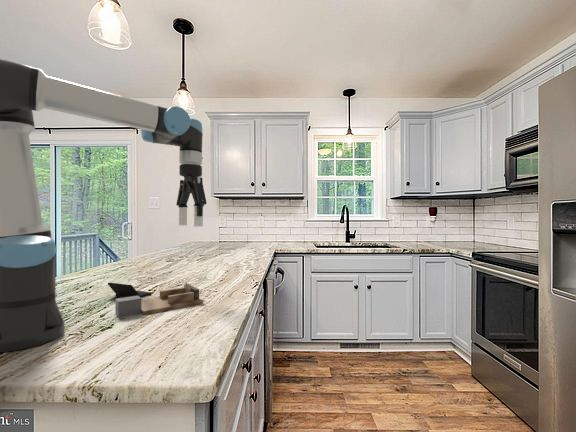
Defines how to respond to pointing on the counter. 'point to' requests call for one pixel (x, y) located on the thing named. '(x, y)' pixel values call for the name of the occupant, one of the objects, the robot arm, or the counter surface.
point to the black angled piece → (127, 290)
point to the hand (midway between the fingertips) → (190, 225)
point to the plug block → (127, 306)
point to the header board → (171, 300)
